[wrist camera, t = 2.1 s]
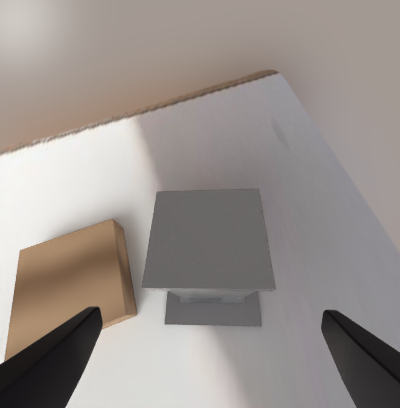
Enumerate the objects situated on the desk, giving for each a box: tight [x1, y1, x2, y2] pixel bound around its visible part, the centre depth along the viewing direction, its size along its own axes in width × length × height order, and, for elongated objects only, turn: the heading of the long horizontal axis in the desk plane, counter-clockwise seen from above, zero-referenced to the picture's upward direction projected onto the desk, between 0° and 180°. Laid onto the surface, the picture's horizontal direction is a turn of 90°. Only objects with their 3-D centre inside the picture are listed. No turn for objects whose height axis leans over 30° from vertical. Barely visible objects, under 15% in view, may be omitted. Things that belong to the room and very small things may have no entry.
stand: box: [4, 219, 137, 362], centre depth 18 cm, size 9×9×2 cm
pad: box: [165, 291, 261, 326], centre depth 18 cm, size 8×8×1 cm
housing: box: [142, 189, 276, 304], centre depth 13 cm, size 5×5×10 cm
